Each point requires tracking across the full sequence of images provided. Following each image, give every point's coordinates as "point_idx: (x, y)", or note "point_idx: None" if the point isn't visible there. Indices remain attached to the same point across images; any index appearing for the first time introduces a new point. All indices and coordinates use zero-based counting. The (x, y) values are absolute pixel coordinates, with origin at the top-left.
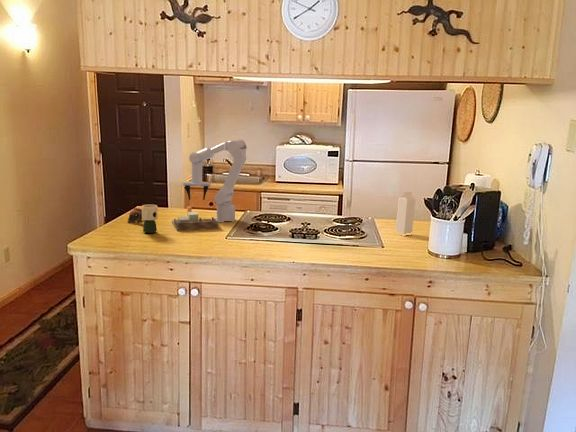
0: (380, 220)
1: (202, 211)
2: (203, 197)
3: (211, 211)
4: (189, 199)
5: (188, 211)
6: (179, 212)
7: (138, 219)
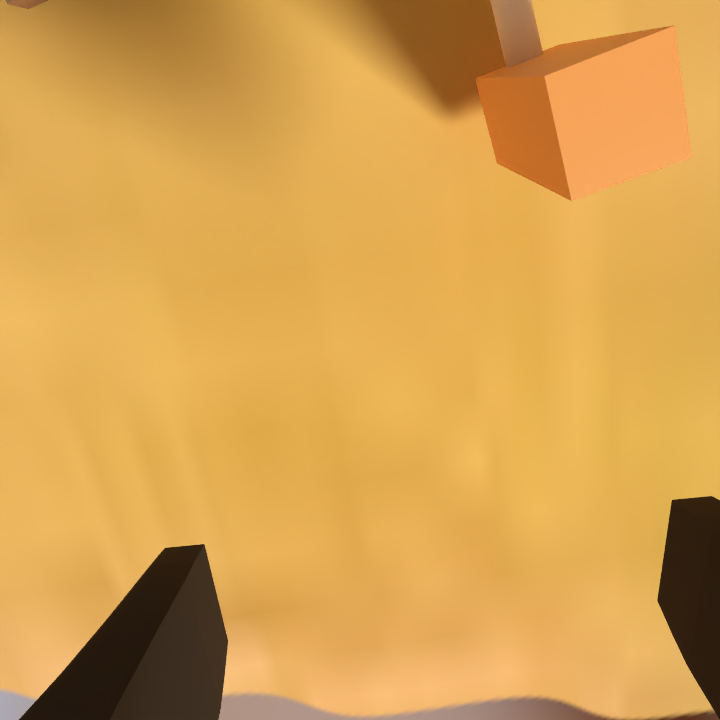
0: None
1: (350, 650)
2: (163, 602)
3: None
4: (697, 498)
5: (591, 47)
6: None
7: None
